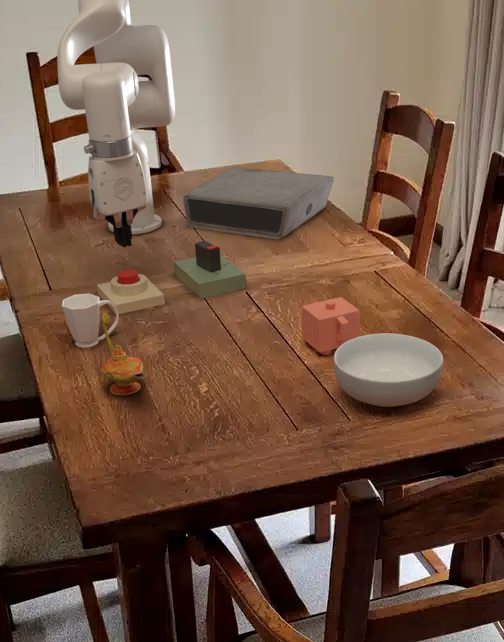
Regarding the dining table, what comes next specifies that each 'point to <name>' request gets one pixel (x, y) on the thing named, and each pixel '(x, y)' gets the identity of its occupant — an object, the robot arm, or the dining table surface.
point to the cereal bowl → (387, 368)
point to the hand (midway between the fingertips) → (124, 244)
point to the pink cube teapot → (330, 324)
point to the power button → (128, 277)
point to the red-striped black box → (208, 256)
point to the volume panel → (209, 277)
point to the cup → (85, 318)
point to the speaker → (256, 202)
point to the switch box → (131, 294)
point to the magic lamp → (121, 368)
